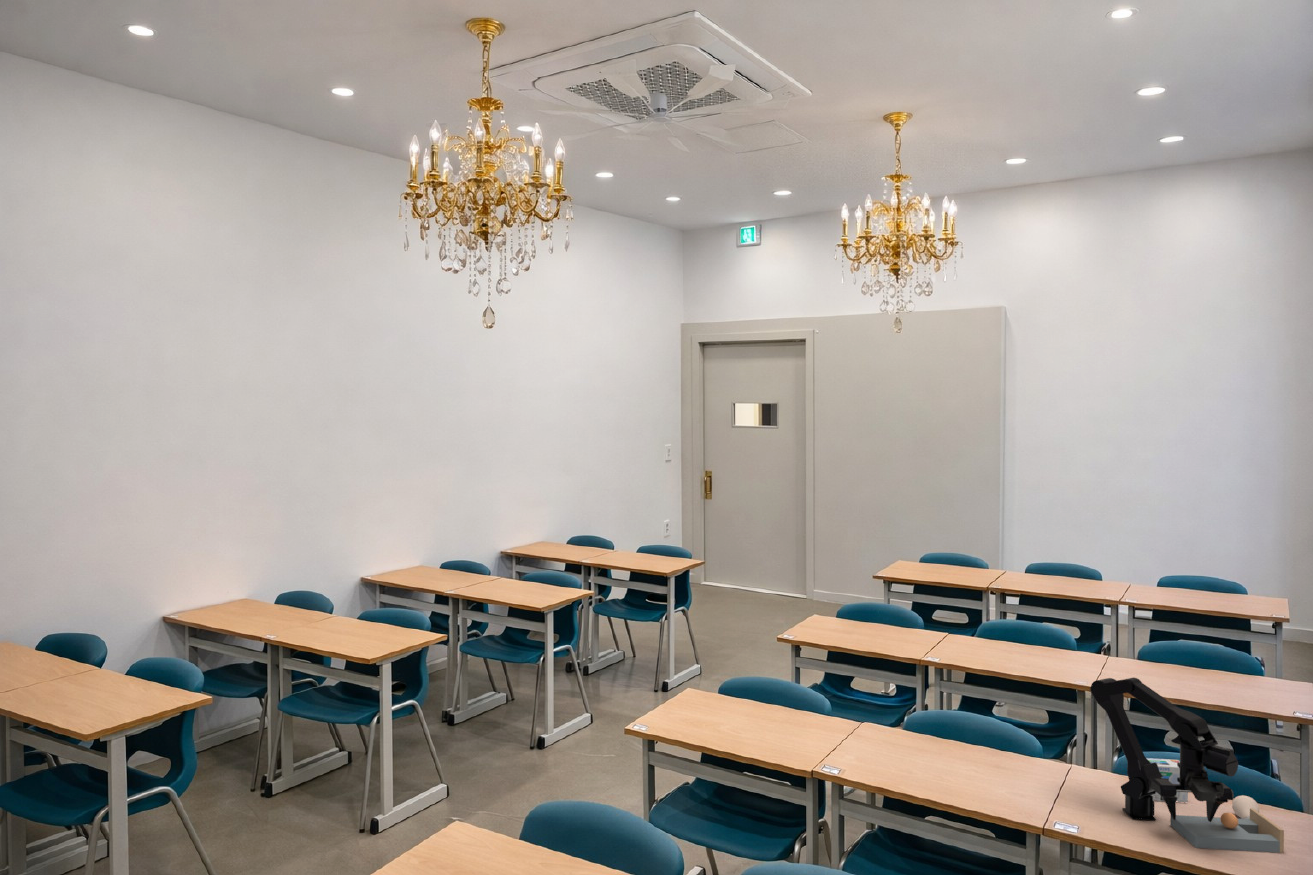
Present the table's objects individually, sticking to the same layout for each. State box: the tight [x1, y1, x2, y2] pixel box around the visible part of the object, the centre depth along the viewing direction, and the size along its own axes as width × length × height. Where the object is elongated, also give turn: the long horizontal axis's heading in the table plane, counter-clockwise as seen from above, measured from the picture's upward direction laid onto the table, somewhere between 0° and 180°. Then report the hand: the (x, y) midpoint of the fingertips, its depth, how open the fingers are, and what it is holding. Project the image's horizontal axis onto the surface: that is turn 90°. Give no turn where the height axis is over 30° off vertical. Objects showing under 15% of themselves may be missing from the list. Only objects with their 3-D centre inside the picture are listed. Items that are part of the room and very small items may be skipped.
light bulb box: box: [1146, 757, 1189, 803], centre depth 253 cm, size 11×7×11 cm, turn 83°
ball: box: [1220, 812, 1238, 829], centre depth 227 cm, size 4×4×4 cm
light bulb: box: [1231, 794, 1260, 819], centre depth 238 cm, size 7×7×11 cm
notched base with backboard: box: [1169, 808, 1285, 854], centre depth 227 cm, size 22×13×6 cm, turn 84°
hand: (1191, 820), depth 228 cm, fingers open, 9 cm apart
